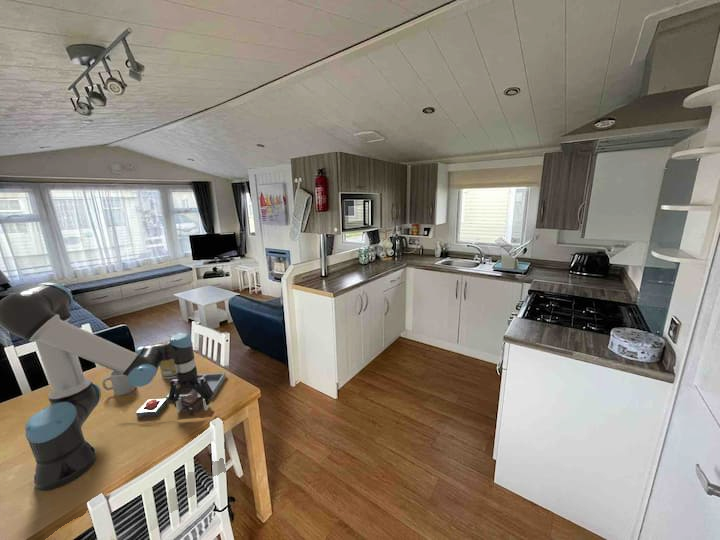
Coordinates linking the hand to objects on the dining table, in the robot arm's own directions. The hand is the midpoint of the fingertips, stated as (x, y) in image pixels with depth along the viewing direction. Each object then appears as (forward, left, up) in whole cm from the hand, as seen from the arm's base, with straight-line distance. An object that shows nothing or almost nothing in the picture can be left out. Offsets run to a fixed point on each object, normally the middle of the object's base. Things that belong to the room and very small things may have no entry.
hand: (194, 411), depth 124 cm
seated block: (+15, +10, +1) cm, 18 cm away
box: (0, 0, 0) cm, 0 cm away
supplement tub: (+31, +25, 0) cm, 40 cm away
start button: (+1, +18, +1) cm, 18 cm away
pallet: (+15, +5, 0) cm, 16 cm away
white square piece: (+1, +18, 0) cm, 18 cm away
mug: (+18, +44, 0) cm, 48 cm away
